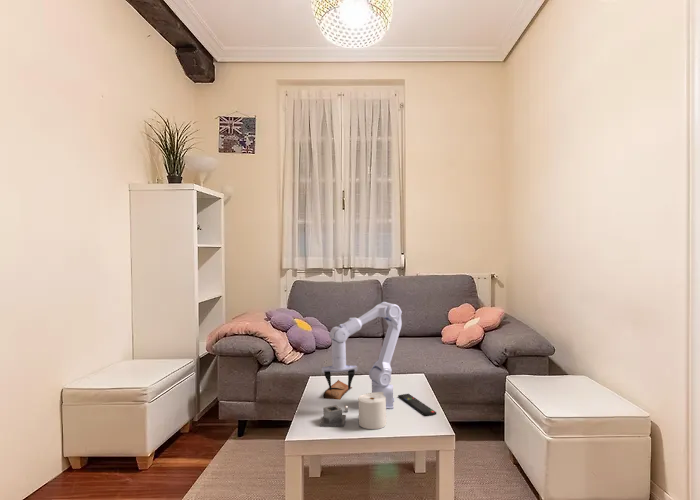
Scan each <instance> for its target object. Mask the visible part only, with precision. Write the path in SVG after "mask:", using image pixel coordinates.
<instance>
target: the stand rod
mask: <svg viewBox="0 0 700 500" xmlns="http://www.w3.org/2000/svg"><path fill="white" fill-rule="evenodd" d="M343 407H344V409H343V410H344V413H349V406H348V405H347V404H346V405H344V406H343Z"/></svg>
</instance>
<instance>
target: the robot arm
mask: <svg viewBox="0 0 700 500" xmlns="http://www.w3.org/2000/svg"><path fill="white" fill-rule="evenodd" d="M402 313H403V312H402V309H401V307H400V306H399V305H398V304H395V303H391V302H388V301H382V302H380V303H378V304H376V305H375V306H374V307H372V309H370V310H368V311H366V312H365V313H363V314H362V315H360V316H359V317H358V318H357V317H356V316H355V317H349V318H348V320H346V321H344V322H343V323H340V324H339V326H334V327H332V328H331V329H330V332H329V334H328V335H329V338H330V339H331V364H332V365H330V366H329V365H328V366H322V367H321V374H324V377H325V379H326V381H327V384H328V388H330V390H331V386H332V381H331V379H332V377H331V376H332V375H331V374H332V373H339V372H340V373H342V372H347V376H348V377H347V378H348V379H347V385H348V391H350V390H351V389H350V387H352V386H351V385H352V382H353V379H354V378H355V375H356V373H355V372H358V366H357V365H353V364H352V365H348V364H347V354H346V353H347V351H346V350H347V349H346V348H347V345H346V342H347V340H348V338H349V337H350V336H352V335H354V334H356V333H357V332H359V331H360V330H362V327H363V325H365V324H367V323H369V322H371V321H373V320H375V319H377V318H384V320H385V321H386V323H387V326H388V327H387V330H386V333H385V336H384V340H383V342H382V344H381V345H382V346H381V349H380V353H379V356H378V359H377V360H376V361H375V362H373V365H372V367H371V368H370V370H369V372H368V377H369V379H370V380H371V393H373V392H384V396H385V397H386V409H394V403H395V397H394V384H391V381H392V371H393V370H392V367H391V363H392V359H393V355H394V353H395V349H396V345H397V343H398V339H399V336H400V332H401V329H402V325H403V324H402V323H403V322H402ZM349 389H350V390H349Z"/></svg>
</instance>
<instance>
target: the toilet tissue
mask: <svg viewBox="0 0 700 500" xmlns="http://www.w3.org/2000/svg"><path fill="white" fill-rule="evenodd" d="M358 425H359V426H360V427H362V428H364V429H367V430H378V429H382V428H385V426H386V425H387V408H386V397H385V396H384V392H373V393H372V392H368V393H364V394H361V395H359V396H358Z"/></svg>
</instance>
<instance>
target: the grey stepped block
mask: <svg viewBox="0 0 700 500" xmlns="http://www.w3.org/2000/svg"><path fill="white" fill-rule="evenodd" d="M323 415H324V419H326V420H327V421H328V422H329V423H331V422H335V421H340V420H342V415H343V409H342V408H341V407H339V406H338V405H336V404H335V405H329V406H325V407H323ZM323 415H322V416H323Z"/></svg>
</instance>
